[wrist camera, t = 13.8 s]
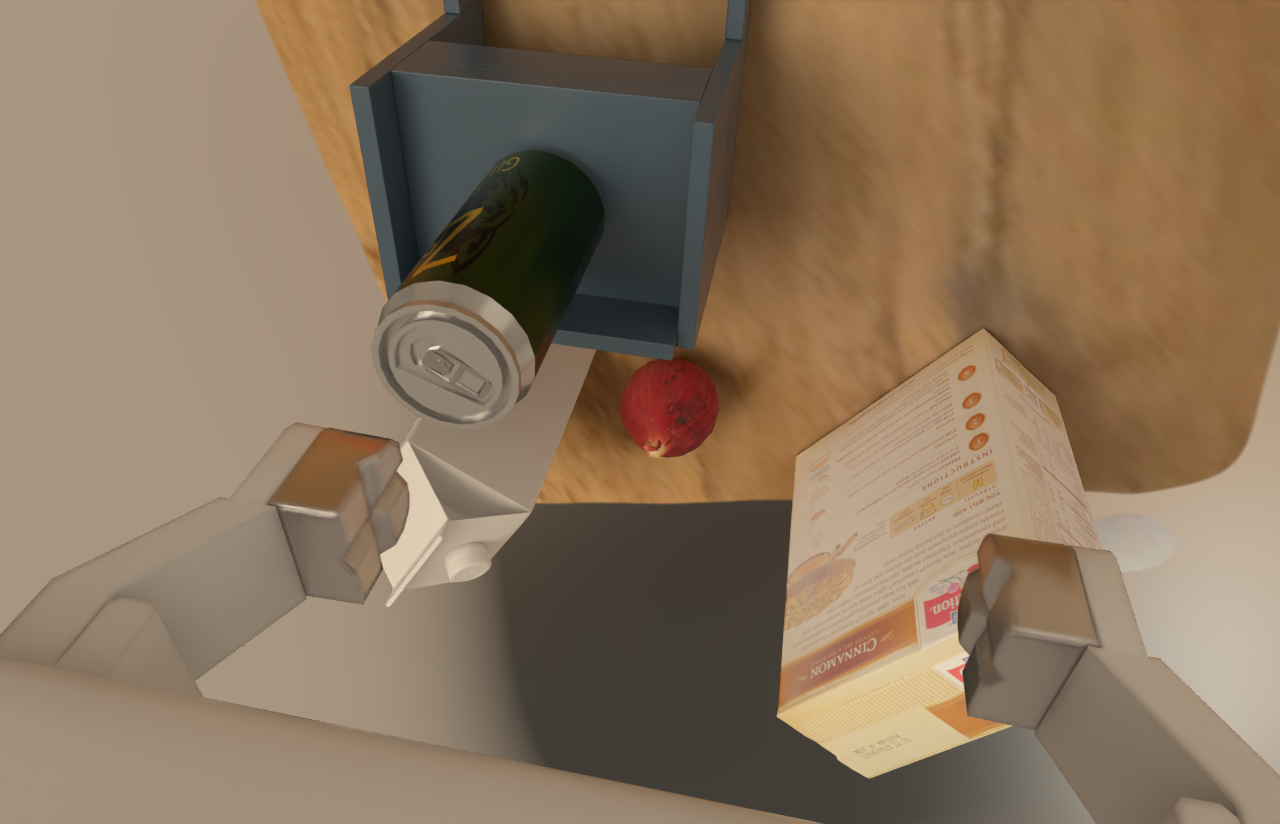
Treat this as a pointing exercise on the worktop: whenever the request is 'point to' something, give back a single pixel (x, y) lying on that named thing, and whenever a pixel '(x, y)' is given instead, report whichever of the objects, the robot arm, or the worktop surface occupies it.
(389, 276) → the rack
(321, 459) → the robot arm
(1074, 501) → the coffeecake box
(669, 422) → the onion
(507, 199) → the green drink can
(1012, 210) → the worktop surface
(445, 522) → the milk carton
